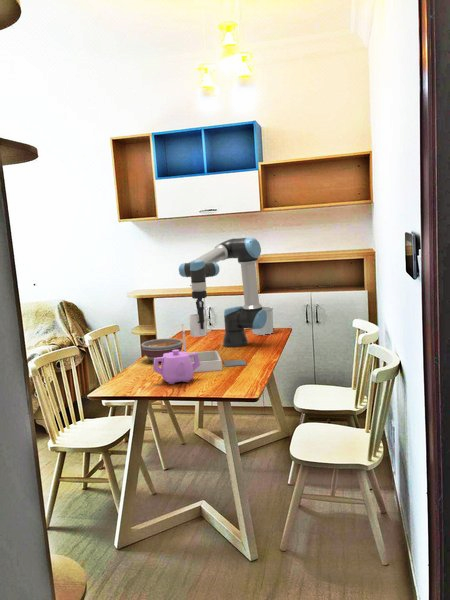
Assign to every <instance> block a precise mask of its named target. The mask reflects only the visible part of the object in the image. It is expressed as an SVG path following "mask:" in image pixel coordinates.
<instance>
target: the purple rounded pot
mask: <svg viewBox="0 0 450 600" xmlns="http://www.w3.org/2000/svg"><path fill="white" fill-rule="evenodd" d="M188 353H189V352H187V351H186V352H184V350H183V351H182V350H181V351H180V352H179V350H172V352H169V353H165V354H163V357H158V358H154V361H153V368H152V370H153V372H155V373H158V374H159V375H161V377H162V379H163V380H164V381H165V382H166V383H168V385H169V384H173V385H176V383H179V382H183V383H184V382H188V383H190V381H191V380H193V378H194V373H195V372H193V371H194V370H195V369H196V368H197V367H199V366H200V362H201V361H199V358H198V354H197V353H192V352H191V353H192V354H188ZM191 357H194V363H193V364H192V362H191V360H190V358H191ZM159 361H162V362H160V363H161V365H160V367H159Z"/></svg>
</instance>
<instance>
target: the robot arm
mask: <svg viewBox="0 0 450 600" xmlns="http://www.w3.org/2000/svg"><path fill="white" fill-rule="evenodd" d="M261 253H262V248H261V244H260V242H259V241H258V239H256V238H254V237H241V238H230V239H227V240H225V241H223V242H221V243H219V244H216V245H215V246H214V248H213V249H211V250H209V251H208V252H206V253H204V254H202V255H201V256H199V257H197V258H195V259H193V260H191V261H190V262H183V263H180V265H179V267H178V272H179V273H178V274H179V275H180V276H181V277H183V278H190V282H191V283H190V285H189V287H191V290H192V291H191V297H192V299H194V300H195V299H196V301H195V306H196V311H197V313H196V314H198V315H199V322H198V323H199V331H200V335H205V326H204V314H205V312H204V310H205V307H204V306H205V303H204V302H205V301H203V299H206V298H207V281H206V278H213V277H217V276H218V275H219V273H220V265H219V264H218V262H221V261H226V260H229V259H237V263H238V264H239V265H240V269H241V270H240V271H241V279H242V289H243V300H244V304H243V306H242V305H241V306H233V307H228V308H225V309H224V312H223V317H224V332H225V334H224V337H223V341H222V345H223V347H226V348H237V347H238V348H239V347H244V346H247V345H248V344H249V342H248V338H247V336H246V332H245V329H249V330H250V329H251V330H252V329H261V328H263V327H264V325H265V323H266V320H267V313H266V311H265V310H263V309H262V306H263V305H262V304H261V303H260V298H259V296H260V295H259V287H258V275H257V274H258V273H257V265H256V263H257V262H258V261H259V260H258V259H259V258H260V256H261ZM205 336H206V335H205Z"/></svg>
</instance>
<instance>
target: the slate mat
mask: <svg viewBox="0 0 450 600" xmlns="http://www.w3.org/2000/svg"><path fill="white" fill-rule="evenodd" d="M222 364H223V365H224V367H225V368H229V367H243V366H247V362H246V361H245V359H233V360H223V361H222Z"/></svg>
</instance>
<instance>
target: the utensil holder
mask: <svg viewBox="0 0 450 600" xmlns="http://www.w3.org/2000/svg"><path fill="white" fill-rule="evenodd" d="M262 309H263V310H265V311H266V313H267V320H266V323H265V325H264V327H263V328H261V329H251V330H252V335H253V334H257V335H256V336H258V335H263V336H266V335H265V334H270V335H272V334H271V333H273V334H274V317H273V309H274V308H273V306H270V305H262Z"/></svg>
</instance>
